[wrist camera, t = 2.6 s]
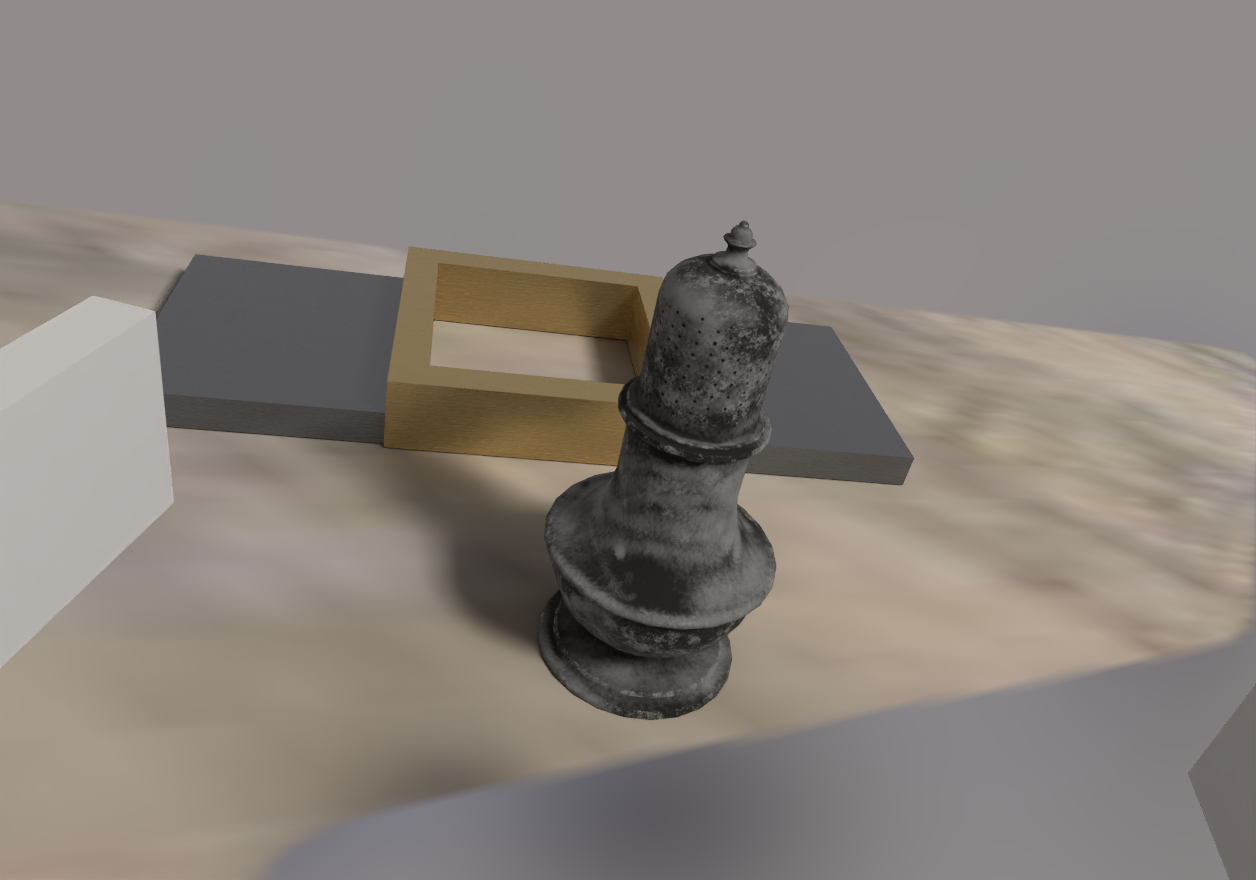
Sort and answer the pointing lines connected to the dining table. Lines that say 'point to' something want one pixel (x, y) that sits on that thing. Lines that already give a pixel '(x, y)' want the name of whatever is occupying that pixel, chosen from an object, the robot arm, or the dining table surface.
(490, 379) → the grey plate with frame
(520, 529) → the dining table surface
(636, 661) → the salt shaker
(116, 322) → the robot arm
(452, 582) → the dining table surface
